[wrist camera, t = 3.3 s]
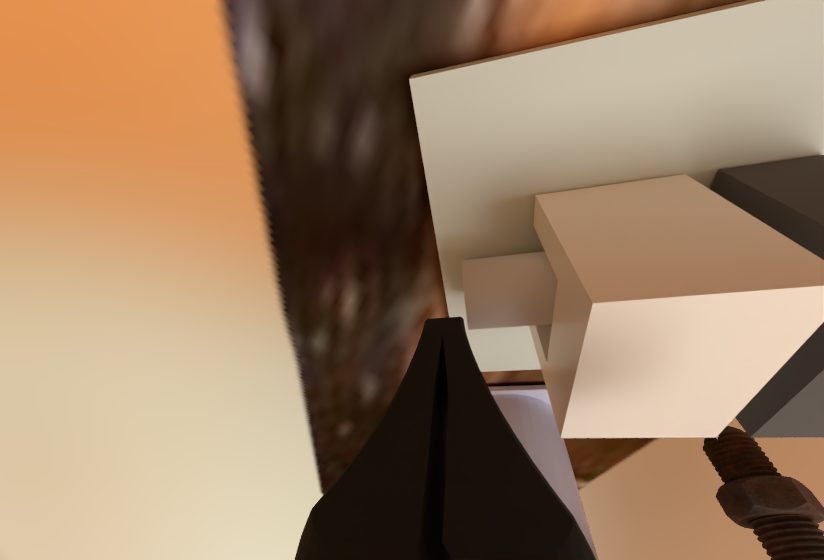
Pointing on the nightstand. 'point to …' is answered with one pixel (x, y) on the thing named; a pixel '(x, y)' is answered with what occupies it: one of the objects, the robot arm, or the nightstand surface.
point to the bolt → (765, 498)
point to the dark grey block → (820, 234)
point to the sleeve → (666, 308)
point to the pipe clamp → (601, 140)
